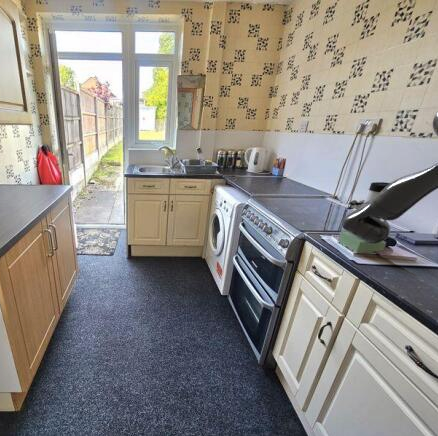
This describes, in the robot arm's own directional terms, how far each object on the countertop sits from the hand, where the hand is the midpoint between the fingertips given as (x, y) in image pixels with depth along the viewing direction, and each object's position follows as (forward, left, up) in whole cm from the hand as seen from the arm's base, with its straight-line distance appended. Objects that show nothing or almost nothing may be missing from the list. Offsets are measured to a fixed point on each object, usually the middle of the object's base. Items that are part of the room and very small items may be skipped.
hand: (374, 204), depth 93 cm
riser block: (+1, +2, -18) cm, 18 cm away
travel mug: (+2, +2, -11) cm, 11 cm away
